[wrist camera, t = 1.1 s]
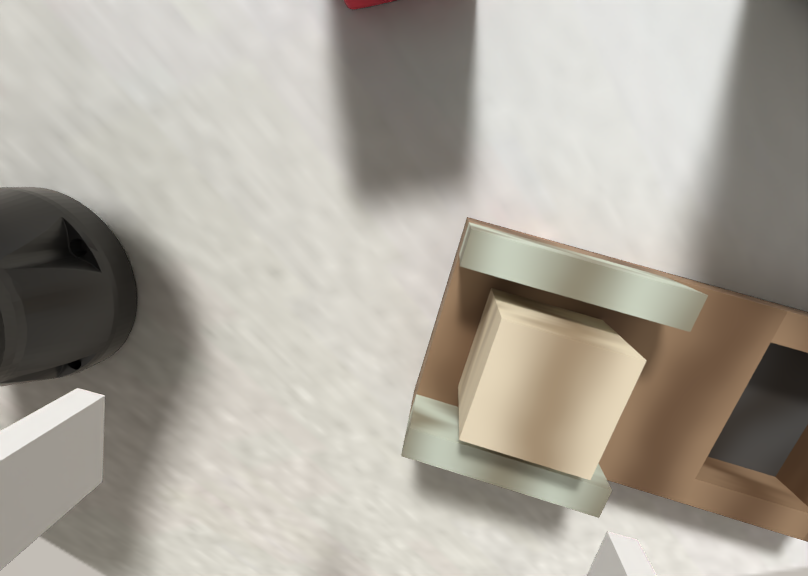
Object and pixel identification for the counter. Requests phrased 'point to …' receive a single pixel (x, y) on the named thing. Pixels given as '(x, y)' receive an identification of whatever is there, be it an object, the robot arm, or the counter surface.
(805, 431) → the wooden compartment tray
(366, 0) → the ink box
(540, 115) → the counter surface
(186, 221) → the counter surface
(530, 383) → the birch block
